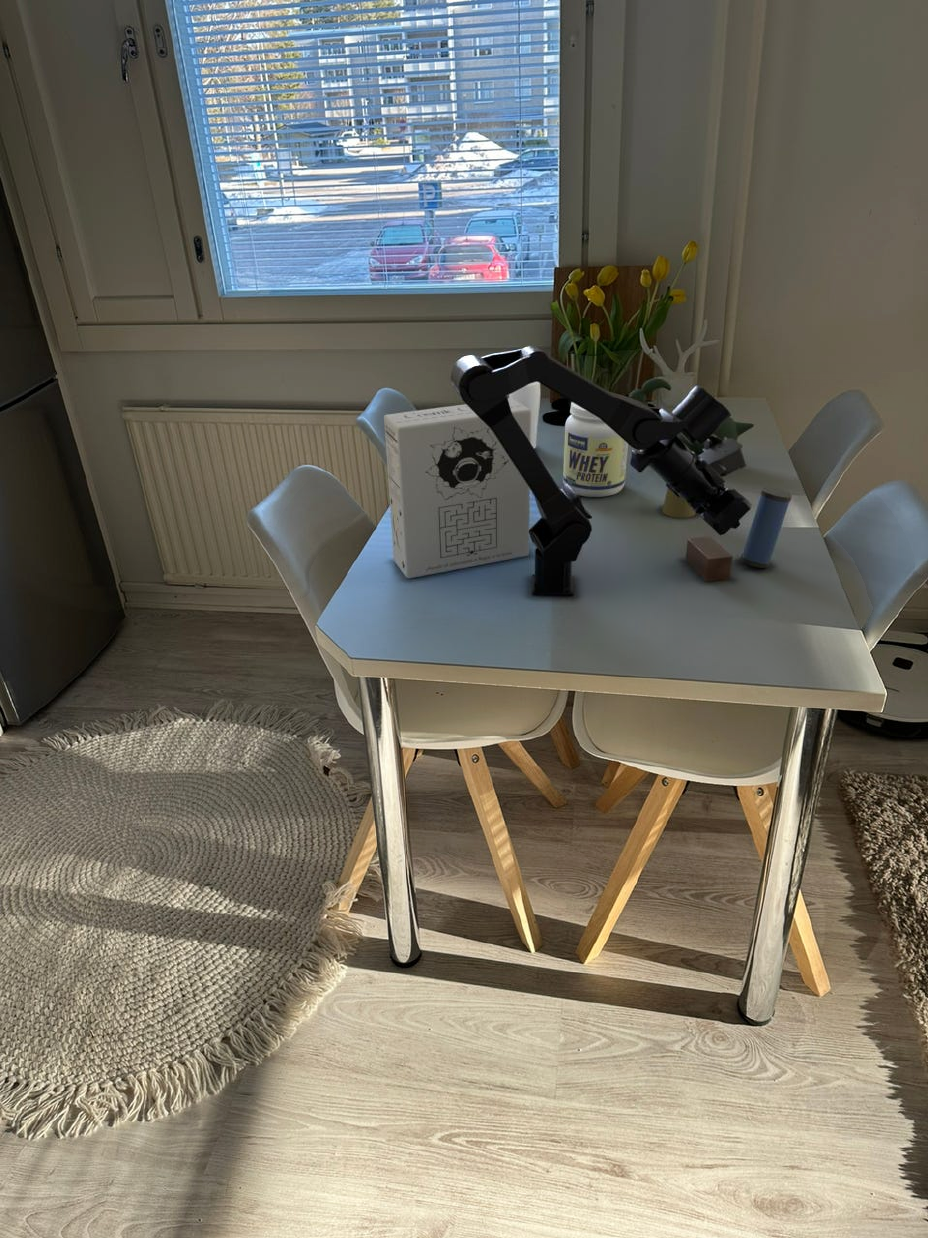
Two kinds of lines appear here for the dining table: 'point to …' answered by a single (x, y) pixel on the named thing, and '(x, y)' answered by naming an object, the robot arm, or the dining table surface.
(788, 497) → the tube
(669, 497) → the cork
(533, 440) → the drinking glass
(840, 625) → the dining table surface
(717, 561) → the walnut block
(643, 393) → the toy figurine
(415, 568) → the cereal box
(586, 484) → the supplement tub
